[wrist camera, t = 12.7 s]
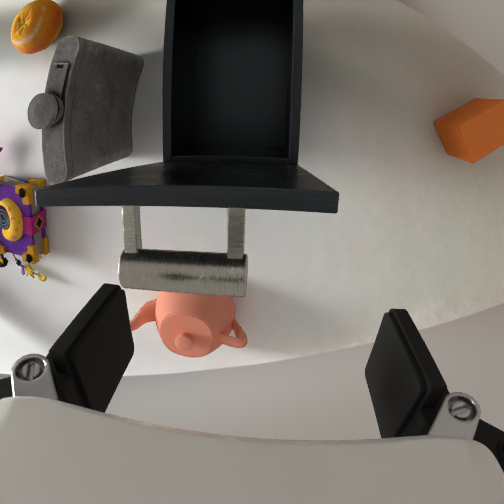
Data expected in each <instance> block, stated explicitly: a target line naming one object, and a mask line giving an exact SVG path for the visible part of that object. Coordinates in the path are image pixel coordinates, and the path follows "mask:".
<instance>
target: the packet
mask: <svg viewBox="0 0 504 504" xmlns="http://www.w3.org/2000/svg"><path fill="white" fill-rule="evenodd" d="M433 123H434V125H435V127H436V129H437V131H438V134H439V136H440V138H441V140H442V143H443V145H444V148H445V150H446V152H447V154H448V155H451V156H454V157H457V158H460V159H462V160H465V161H468V162H471V163H475V162H477V161H478V160H480V159H481V158H483V157H485V156H486V155H488V154H489V153H491V152H492V151H494V150H496V149H497V148H499V147H500V146H502V145H503V144H504V100H500V99H480V98H476V99H475V100H473V101H471V102H469V103H467V104H465V105H464V106H462V107H460V108H458V109H456V110H454V111H453V112H451V113H449V114H447V115H445V116H444V117H442V118H440V119H438V120H436V121H435V122H433Z"/></svg>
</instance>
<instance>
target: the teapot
mask: <svg viewBox="0 0 504 504" xmlns="http://www.w3.org/2000/svg"><path fill="white" fill-rule="evenodd" d="M151 321H156V325H157V329H158V332H159V334H160V337H161V339H162V341H163V343H164V345H165V346H166V347H167V348H168V349H169V350H170V351H172V352H174V353H176V354H178V355H182V356H186V357H202V356H205V355H207V354H209V353H211V352H212V351H214V350H215V349H217V348H218V347H219V346H220V345H221V344H222V343H223V344H226V345H228V346H232V347H236V348H242V347H244V346H246V344H247V337H246V334H245V332H244V330H243V329H242V327H241V326H240V325H239V323H238V322H237V321H236V320H235V306H234V302H233V300H232V297H231V296H217V295H203V294H189V293H176V292H164V291H160V292H159V294H158V297H157V299H155V300H152V301H149V302H147V303H145V304H144V305H143V306H142V307H141V308H140V310H139V311H138V313H137V314H136V316H135V317H134V318H133V319H132V320H131V321H130V327H131V331H133V330H136V329H137V328H139V327H140V326H142V325H143V324H145V323H147V322H151ZM232 328H233V330H234V332H235V335H236V337H231V336H229V334H230V332H231V330H232Z"/></svg>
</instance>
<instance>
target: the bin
mask: <svg viewBox="0 0 504 504" xmlns="http://www.w3.org/2000/svg"><path fill="white" fill-rule="evenodd" d="M302 48H303V0H167V5H166V19H165V36H164V60H163V162H249V163H274V164H292V165H298V151H299V132H300V110H301V84H302Z"/></svg>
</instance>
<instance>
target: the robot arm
mask: <svg viewBox="0 0 504 504" xmlns="http://www.w3.org/2000/svg"><path fill="white" fill-rule="evenodd" d="M133 353H134V343H133V338H132V333H131V327H130V321H129V315H128V309H127V302H126V296H125V291H124V290H122V289H121V287H120V286H119V285H114V284H107V283H105V284H103V285H102V286H101V287H100V289H99V290H98V291H97V292H96V293H95V294H94V296H93V297H92V298H91V299H90V300H89V302H88V303H87V304H86V305H85V306H84V307H83V309H82V310H81V311H80V312H79V314H78V315H77V316H76V317H75V318H74V320H73V321H72V322H71V323H70V325H69V326H68V327H67V328H66V330H65V331H64V332H63V333H62V335H61V336H60V337H59V338H58V340H57V341H56V342H55V343H54V345H53V346H52V347H51V349H50V350H49V354H48V355H47V356H46V358H45V357H44V356H42V355H40V354H28V355H25V356H23V357H21V358H20V359H18V360H17V361H16V362H15V363H14V365H13V367H12V370H11V376H10V377H7V378H4V379H1V380H0V504H504V432H503V431H501V430H499V429H498V428H496V427H494V426H492V425H490V424H488V423H486V422H484V421H483V420H481V419H480V413H481V411H480V407H479V405H478V403H477V401H476V400H475V399H474V398H472V397H471V396H469V395H468V394H465V393H462V392H454V393H449V391H448V389H447V385H446V383H445V381H444V379H443V378H442V375H441V373H440V371H439V370H438V368H437V365H436V363H435V361H434V359H433V358H432V356H431V354H430V352H429V350H428V348H427V346H426V344H425V342H424V341H423V339H422V337H421V335H420V333H419V331H418V330H417V328H416V326H415V324H414V322H413V321H412V319H411V317H410V315H409V314H408V312H407V310H405V309H390V310H389V312H388V313H385V314H384V316H383V319H382V322H381V325H380V328H379V331H378V334H377V337H376V340H375V343H374V346H373V349H372V352H371V355H370V357H369V360H368V362H367V365H366V368H365V377H366V381H367V384H368V388H369V392H370V395H371V399H372V403H373V407H374V411H375V415H376V418H377V422H378V426H379V430H380V435H381V439H363V440H362V439H361V440H328V441H327V440H323V441H318V440H317V441H313V440H311V441H309V440H280V439H262V438H249V437H238V436H229V435H220V434H212V433H204V432H197V431H190V430H184V429H178V428H172V427H166V426H161V425H156V424H151V423H146V422H141V421H137V420H132V419H128V418H123V417H119V416H115V415H111V414H107V413H105V411H106V409H107V407H108V404H109V403H110V400H111V398H112V396H113V394H114V392H115V390H116V388H117V386H118V384H119V382H120V380H121V378H122V376H123V374H124V372H125V370H126V368H127V366H128V364H129V362H130V360H131V358H132V356H133Z"/></svg>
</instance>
